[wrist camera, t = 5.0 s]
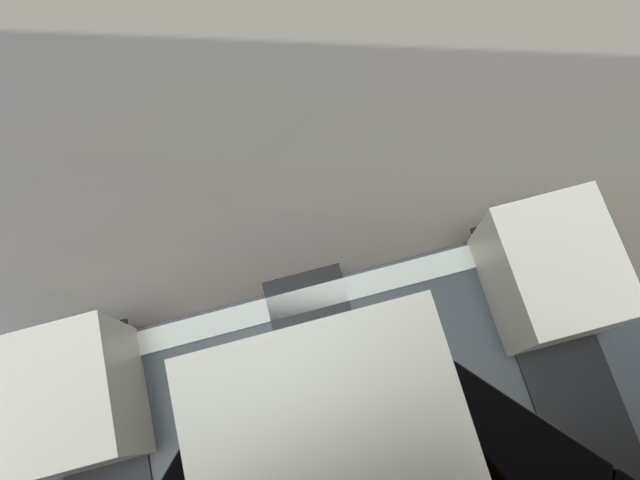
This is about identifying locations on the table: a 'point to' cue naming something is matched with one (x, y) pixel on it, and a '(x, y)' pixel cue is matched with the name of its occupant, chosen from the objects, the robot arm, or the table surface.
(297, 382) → the block
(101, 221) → the table surface
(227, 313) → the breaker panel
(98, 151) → the table surface
